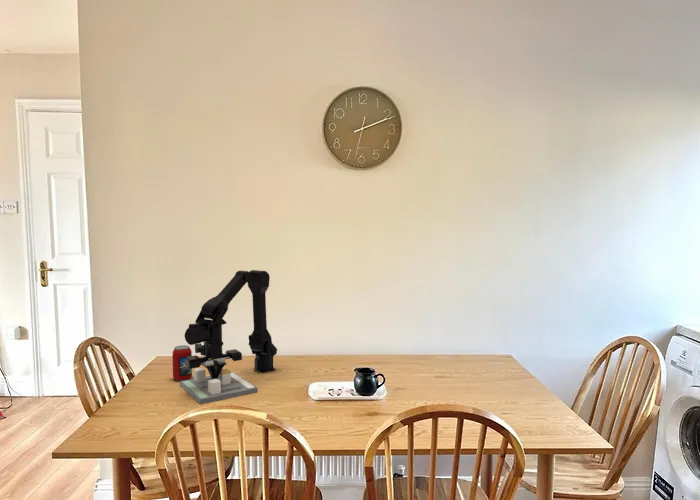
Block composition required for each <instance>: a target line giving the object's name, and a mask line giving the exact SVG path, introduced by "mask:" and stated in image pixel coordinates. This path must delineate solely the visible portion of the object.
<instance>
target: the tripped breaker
mask: <svg viewBox="0 0 700 500" xmlns="http://www.w3.org/2000/svg"><path fill="white" fill-rule="evenodd" d="M231 372H232V370H230V369H229V368H222V370H221V372H220V374H219V381H221V384H222V385H226V384H231Z"/></svg>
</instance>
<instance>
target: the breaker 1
mask: <svg viewBox="0 0 700 500" xmlns="http://www.w3.org/2000/svg"><path fill="white" fill-rule="evenodd" d="M205 377H206V369H205V368H203V367H198V368H193V379H194V381H196V382H197V383H199V382H204V381H206V379H205Z"/></svg>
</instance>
